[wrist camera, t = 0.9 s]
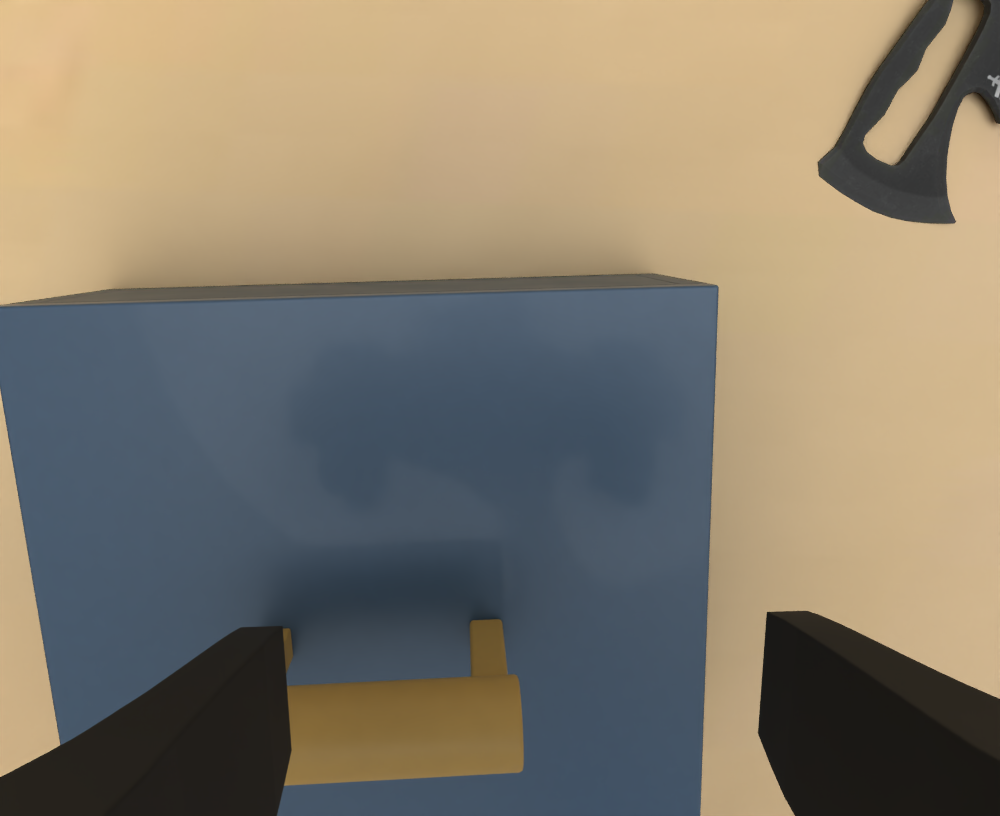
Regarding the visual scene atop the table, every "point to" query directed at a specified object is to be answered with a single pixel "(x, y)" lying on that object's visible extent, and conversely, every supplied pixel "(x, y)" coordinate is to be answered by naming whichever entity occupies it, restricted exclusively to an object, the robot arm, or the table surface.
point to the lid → (388, 530)
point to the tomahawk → (922, 169)
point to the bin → (367, 288)
